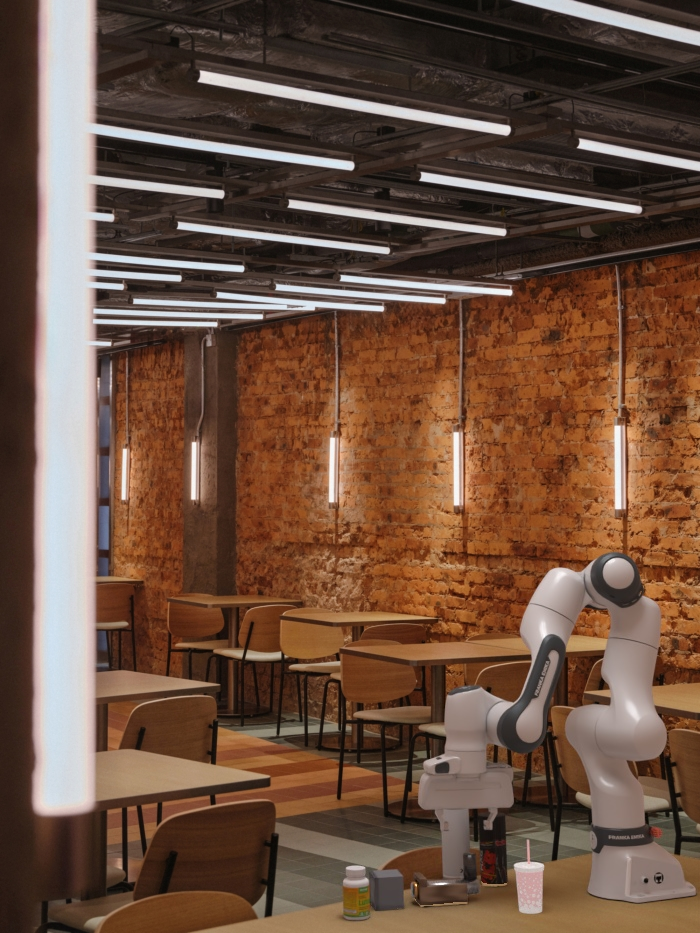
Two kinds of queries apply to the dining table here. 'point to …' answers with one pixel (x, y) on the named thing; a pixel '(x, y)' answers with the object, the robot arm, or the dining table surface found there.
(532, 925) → the dining table surface
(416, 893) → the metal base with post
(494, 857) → the deodorant
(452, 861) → the travel mug
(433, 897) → the guide channel
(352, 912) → the supplement bottle
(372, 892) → the socket block
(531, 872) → the beverage cup
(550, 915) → the dining table surface
